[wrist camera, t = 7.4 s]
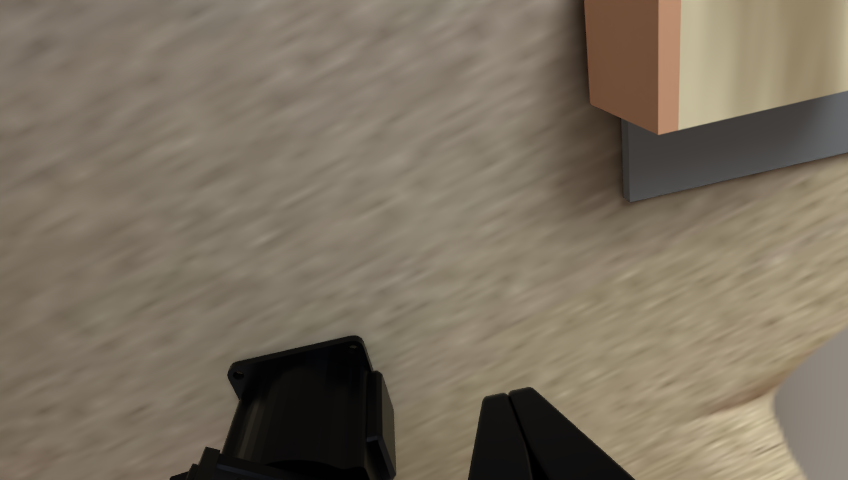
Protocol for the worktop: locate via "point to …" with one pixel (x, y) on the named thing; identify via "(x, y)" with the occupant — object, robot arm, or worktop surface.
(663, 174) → the rubber mat
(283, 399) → the robot arm
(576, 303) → the worktop surface
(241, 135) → the worktop surface
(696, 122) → the maple block
